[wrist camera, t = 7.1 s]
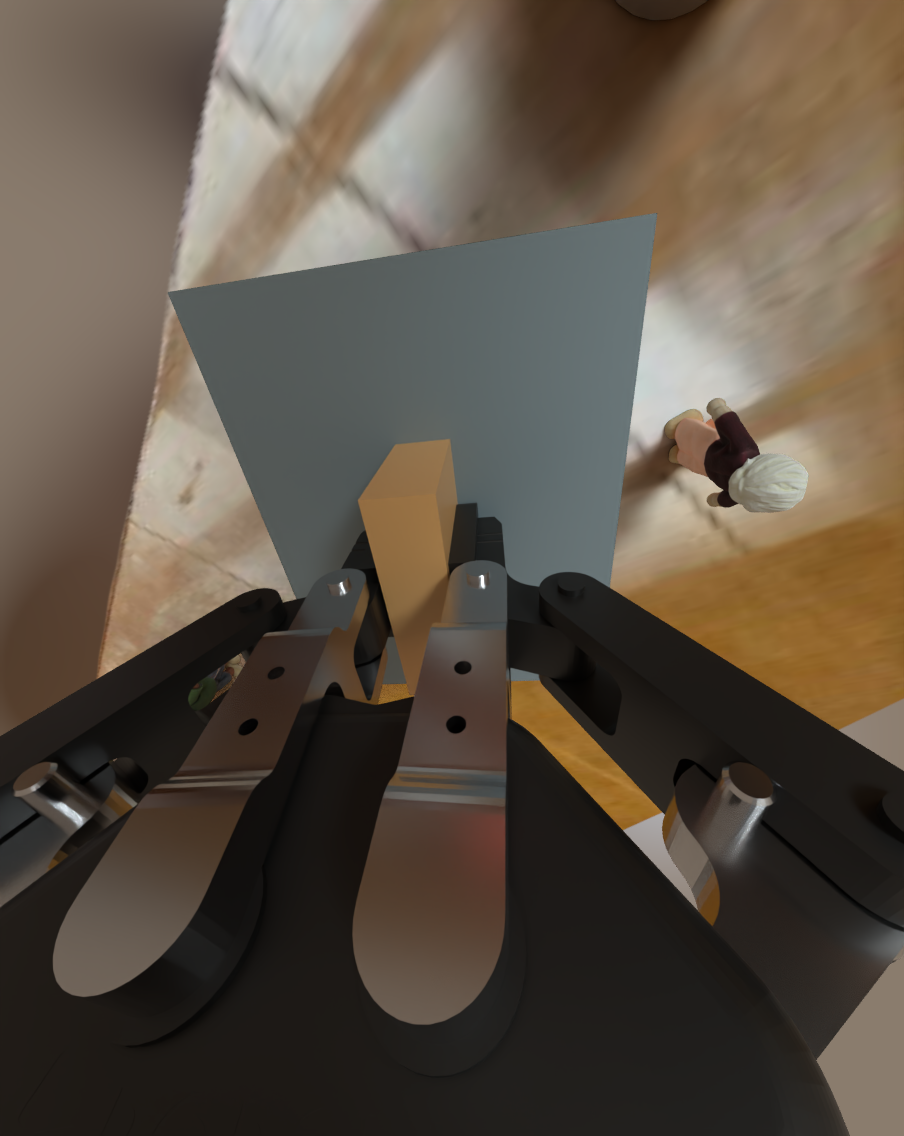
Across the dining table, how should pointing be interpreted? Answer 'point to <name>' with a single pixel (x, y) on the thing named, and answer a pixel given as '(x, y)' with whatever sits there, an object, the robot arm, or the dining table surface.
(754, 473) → the grandmother figurine
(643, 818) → the dining table surface
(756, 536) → the dining table surface
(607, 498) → the lid
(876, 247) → the dining table surface
